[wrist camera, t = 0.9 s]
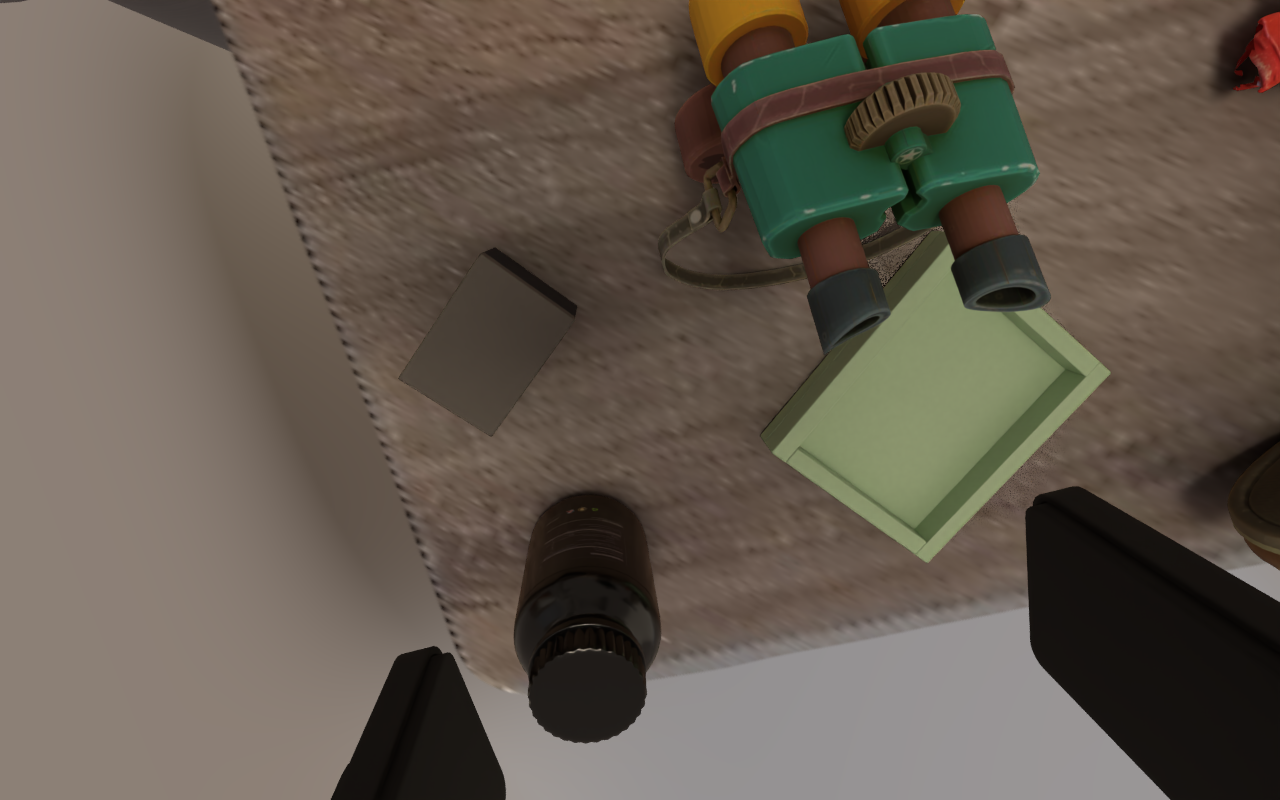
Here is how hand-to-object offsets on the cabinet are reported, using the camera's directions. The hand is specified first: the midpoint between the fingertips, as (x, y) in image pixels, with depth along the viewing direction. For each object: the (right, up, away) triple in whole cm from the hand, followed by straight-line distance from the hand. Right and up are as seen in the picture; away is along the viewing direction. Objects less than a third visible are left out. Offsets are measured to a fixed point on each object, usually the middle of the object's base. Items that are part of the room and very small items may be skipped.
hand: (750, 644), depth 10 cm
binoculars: (+5, +16, +20) cm, 26 cm away
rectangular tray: (+14, +4, +25) cm, 28 cm away
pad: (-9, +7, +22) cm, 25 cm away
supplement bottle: (-5, -4, +26) cm, 27 cm away
